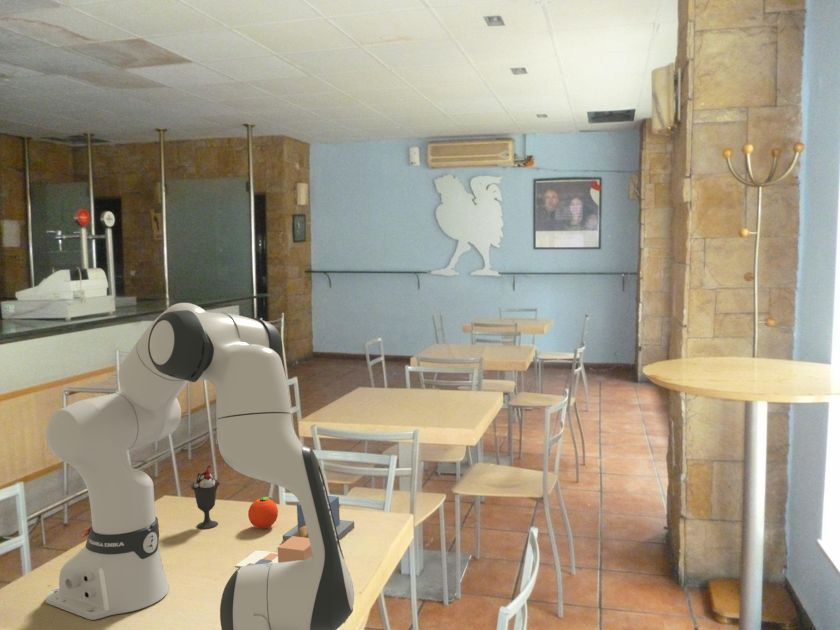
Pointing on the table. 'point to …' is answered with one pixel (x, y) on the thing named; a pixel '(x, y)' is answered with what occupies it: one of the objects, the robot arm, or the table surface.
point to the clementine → (263, 513)
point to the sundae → (205, 497)
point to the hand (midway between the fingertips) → (291, 587)
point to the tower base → (340, 530)
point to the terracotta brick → (294, 549)
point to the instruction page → (259, 558)
